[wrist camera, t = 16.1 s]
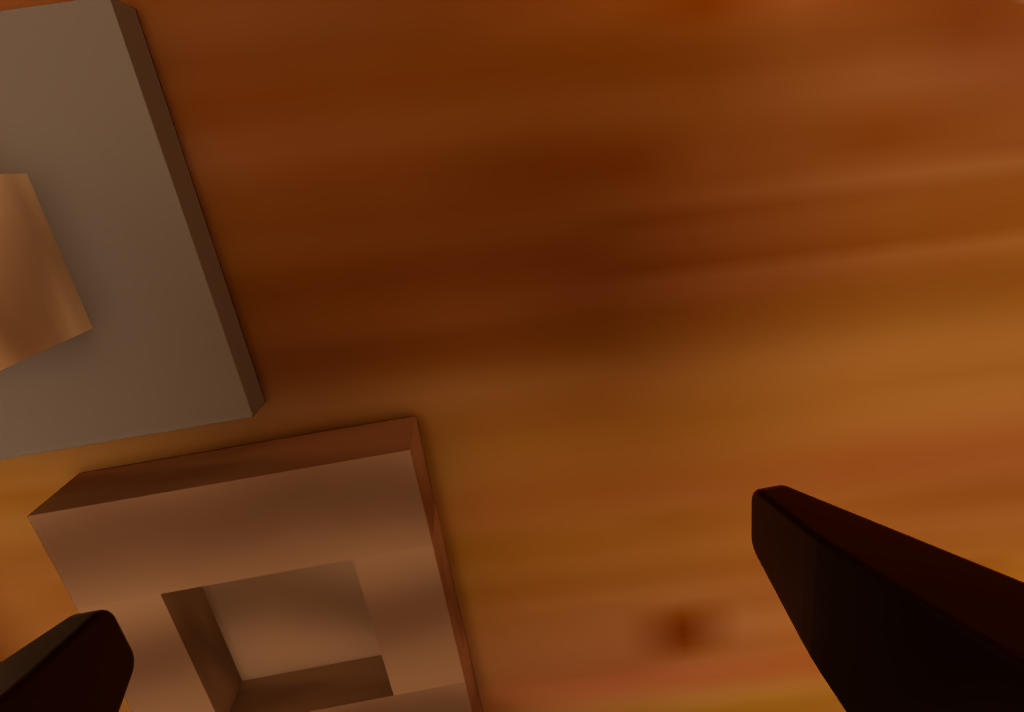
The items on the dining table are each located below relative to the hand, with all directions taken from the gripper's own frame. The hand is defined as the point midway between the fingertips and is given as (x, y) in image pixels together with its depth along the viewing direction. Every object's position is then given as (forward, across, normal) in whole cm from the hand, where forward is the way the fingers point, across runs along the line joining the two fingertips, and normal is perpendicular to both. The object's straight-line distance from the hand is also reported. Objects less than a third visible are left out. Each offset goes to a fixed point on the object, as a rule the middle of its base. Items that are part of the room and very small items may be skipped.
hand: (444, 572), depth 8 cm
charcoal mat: (+12, +13, -4) cm, 18 cm away
